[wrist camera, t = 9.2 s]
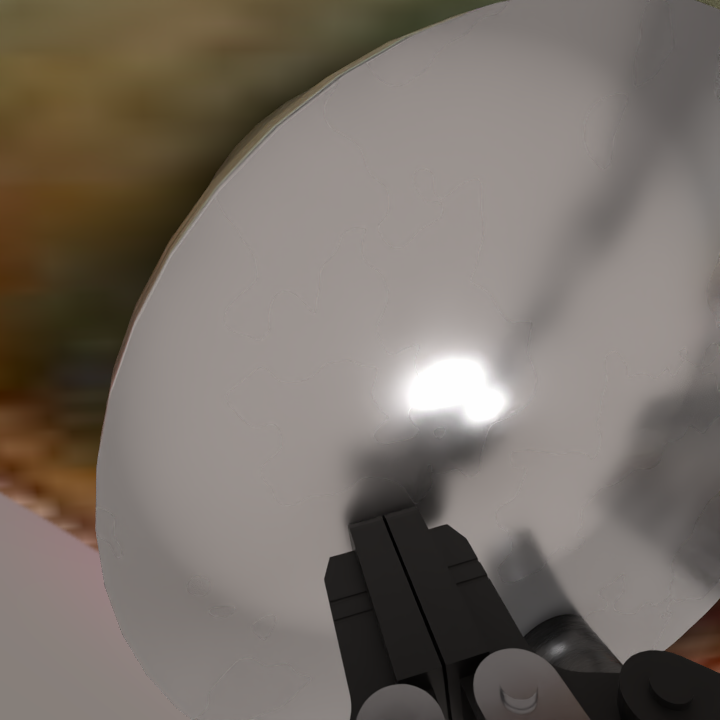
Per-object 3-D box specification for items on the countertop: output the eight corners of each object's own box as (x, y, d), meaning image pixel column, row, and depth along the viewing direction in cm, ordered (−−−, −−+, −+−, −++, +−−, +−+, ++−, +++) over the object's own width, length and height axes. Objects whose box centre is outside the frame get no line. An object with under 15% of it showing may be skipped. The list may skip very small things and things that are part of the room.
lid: (-102, 81, 8) (-253, 63, 5) (915, -48, 12) (1150, -97, 9) (265, 897, 18) (287, 1046, 15) (739, 659, 23) (825, 738, 20)
